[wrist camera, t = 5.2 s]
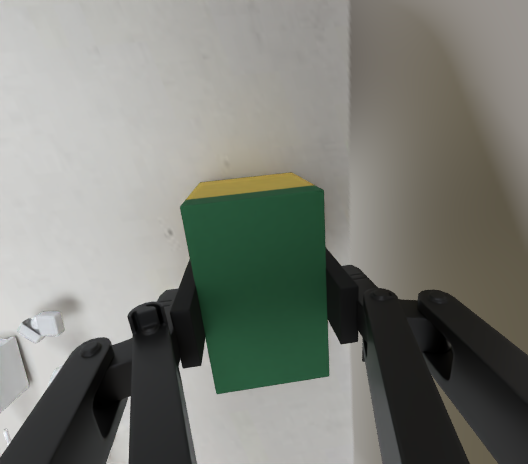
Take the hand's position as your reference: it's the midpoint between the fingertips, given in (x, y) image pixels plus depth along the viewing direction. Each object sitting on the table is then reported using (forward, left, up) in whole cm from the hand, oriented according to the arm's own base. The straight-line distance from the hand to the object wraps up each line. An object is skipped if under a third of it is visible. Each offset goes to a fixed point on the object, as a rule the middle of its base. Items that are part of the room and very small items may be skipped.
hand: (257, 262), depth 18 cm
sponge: (0, 0, -2) cm, 2 cm away
